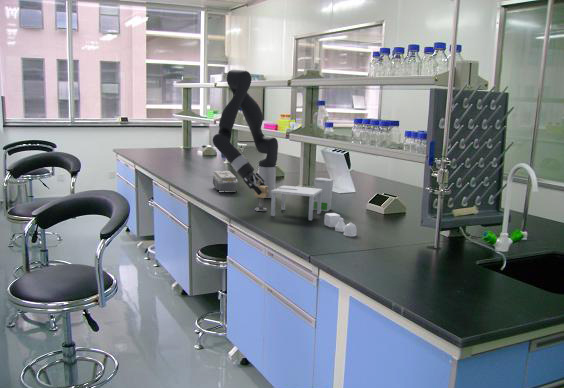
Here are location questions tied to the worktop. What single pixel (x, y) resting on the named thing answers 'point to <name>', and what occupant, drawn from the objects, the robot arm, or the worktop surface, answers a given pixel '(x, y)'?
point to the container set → (339, 224)
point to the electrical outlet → (224, 181)
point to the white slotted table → (297, 191)
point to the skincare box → (323, 193)
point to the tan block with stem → (262, 197)
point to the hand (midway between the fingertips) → (263, 192)
